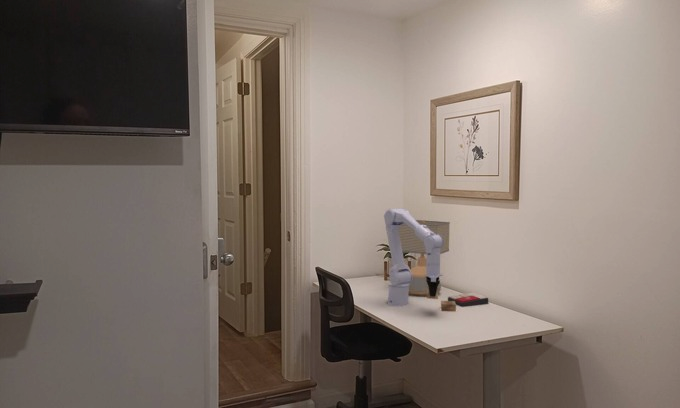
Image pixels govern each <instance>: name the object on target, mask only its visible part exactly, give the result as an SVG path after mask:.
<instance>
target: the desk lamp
mask: <svg viewBox="0 0 680 408" xmlns="http://www.w3.org/2000/svg"><path fill="white" fill-rule="evenodd" d="M415 220H416V221H417V222H418V223H419V224H420V225H426V226H427V228H428V229H429V230H430V231H432V232H434V234H436V235H441V237H442V238H443V242H444V243H443V246H442V247H441V248H440V255H443V254H445V253H447V252H450V221H437V220H425V219H421V220H420V219H415ZM398 232H399V237H400V242H401V247H402V252H403V253H409V254H410V253H411V254H417V255H418V254H420V256H419V257H418V258H417V264H416V266H413V267H412V268H411V269H410V271H411V273H412V276H413V280H412V282H411V283H410V285H409V295H413V296H417V297H418V296H419V297H427V286H428V284H427V281H426V277H428V276H426V260H427V257H426V256H425V255H427V253H426V248H425V246H424V242H423V241H422V240H421V239H420V238H418V237H417V236H416V235H415V231H414V230H413V229H412V228H410V227H409V226H408V225H406V224H405V223H404V224H403V225H402V226H401V227H400V228H399V229H398ZM438 281H440V283H439V285H438V293H440V292H441V291H442V290H441V289H442V287H441V285H442V284H441V279H440V278H439V280H438Z"/></svg>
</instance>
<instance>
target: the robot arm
mask: <svg viewBox="0 0 680 408" xmlns="http://www.w3.org/2000/svg"><path fill="white" fill-rule="evenodd" d="M383 217H384V223H385V230H386V236H387V240H388V247H389V251H390V257H391V263H392V266H391V267H390V268H389V270H388V274H389V277H388V278H389V283H390V284H388V294H387V295H388V296H387V306H398V307H399V306H400V307H402V306H407V305H409V300H410V299H409V295H410V294H409V285H410V283H411V282H412V280H413V276H412V273H411V271H410V266H408V265H407V264H406V263H405V259H404V254H403V253H404V252H402V247H401V242H400V237H399V232H398V229H399V228H400V227H401V226H402V225H403V224H404V223H405V224H406V225H408V226H409V227H410V228H412V229H413V230H414V231H415V235H416V236H417V237H418V238H420V239H421V240H422V241H423V242H424V246H425V248H426V253H427V254H426V276H428V277H426V281H427V284H428V287H429V293H430V296H431V297H435V296H436V291H437V287H438V285H439V283H440V284H441V280H440V281H438V280H439V279H440V277H443V275H444V274H443V273H441V254H440V248H441V247H442V246H443V243H444V242H443V238H442V237H441V235H436V234H434V232H432V231H430V230H429V229H428V228H427V226H426V225H420V224H419V223H418V222H417V221H416V220H417V219H415V218H414V217H413V216H412V215H411V213H410V211H409V210H407V208H406V207H405V208H404V207H401V208H388V209H386V211H385V213H384V215H383Z"/></svg>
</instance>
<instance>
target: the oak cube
mask: <svg viewBox="0 0 680 408" xmlns="http://www.w3.org/2000/svg"><path fill="white" fill-rule="evenodd" d="M426 298H427V299H430V300H431V299H432V300H439V292H438V287H437V291H436V296H435V297H431V296H430V293H429V287H428V286H427V296H426Z"/></svg>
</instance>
